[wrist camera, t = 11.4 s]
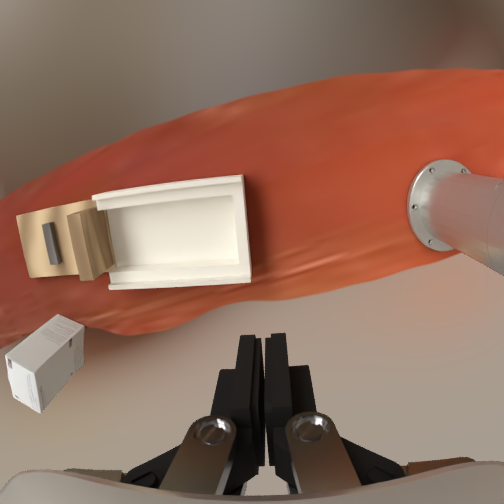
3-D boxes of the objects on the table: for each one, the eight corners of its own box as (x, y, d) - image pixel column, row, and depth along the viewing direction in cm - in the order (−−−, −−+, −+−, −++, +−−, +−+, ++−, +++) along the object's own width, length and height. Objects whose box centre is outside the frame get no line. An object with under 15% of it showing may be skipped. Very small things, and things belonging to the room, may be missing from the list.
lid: (108, 196, 39) (79, 204, 32) (121, 267, 42) (97, 287, 34) (22, 214, 40) (-9, 224, 33) (35, 274, 43) (7, 291, 35)
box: (243, 174, 38) (241, 176, 33) (251, 269, 41) (250, 282, 37) (107, 191, 38) (91, 195, 34) (122, 277, 42) (109, 289, 38)
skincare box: (85, 362, 46) (43, 417, 32) (57, 350, 46) (12, 399, 32) (85, 322, 44) (35, 375, 30) (55, 310, 44) (2, 356, 30)
